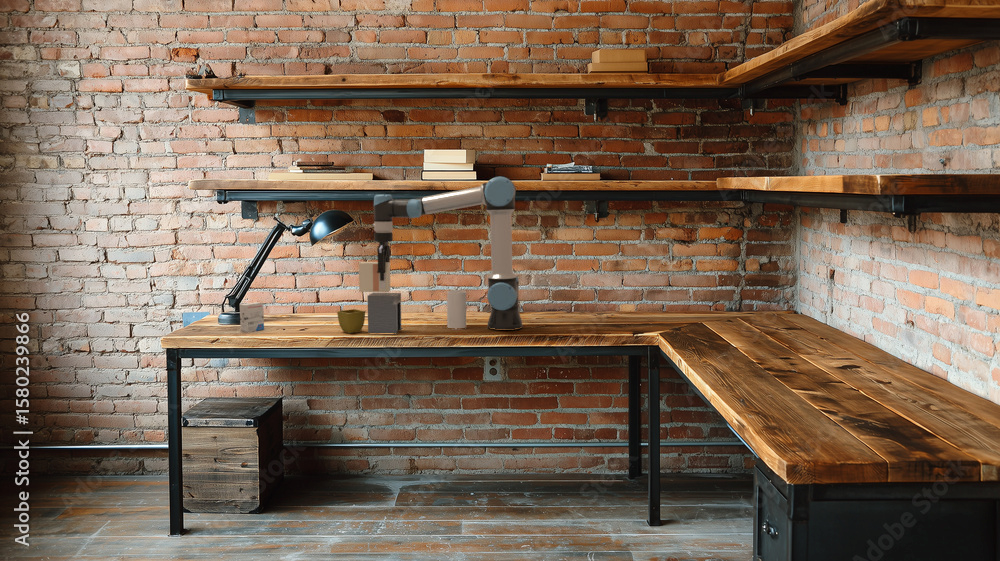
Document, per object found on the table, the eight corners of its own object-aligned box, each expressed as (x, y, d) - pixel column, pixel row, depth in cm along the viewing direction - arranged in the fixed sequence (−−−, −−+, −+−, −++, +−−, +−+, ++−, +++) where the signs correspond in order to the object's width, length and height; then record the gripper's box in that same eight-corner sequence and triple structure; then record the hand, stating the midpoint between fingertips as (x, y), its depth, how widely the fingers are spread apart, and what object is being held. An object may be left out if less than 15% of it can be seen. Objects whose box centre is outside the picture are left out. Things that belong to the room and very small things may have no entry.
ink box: (258, 328, 318) (257, 301, 316) (264, 329, 315) (263, 302, 313) (240, 331, 311) (239, 303, 310) (246, 332, 308) (245, 304, 307)
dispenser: (401, 330, 314) (400, 292, 312) (396, 334, 304) (396, 296, 303) (373, 329, 315) (372, 292, 313) (368, 334, 305) (367, 295, 303)
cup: (449, 329, 315) (449, 292, 313) (445, 326, 323) (445, 290, 321) (468, 328, 317) (468, 292, 315) (463, 325, 325) (463, 289, 323)
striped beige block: (390, 290, 310) (390, 262, 309) (387, 292, 305) (387, 263, 304) (362, 290, 311) (361, 261, 309) (359, 291, 306) (358, 263, 304)
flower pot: (336, 332, 310) (336, 311, 309) (354, 329, 316) (354, 308, 315) (348, 335, 303) (348, 313, 302) (366, 332, 309) (365, 311, 308)
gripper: (379, 230, 314) (380, 284, 317) (369, 232, 296) (370, 290, 299) (396, 230, 314) (397, 285, 316) (387, 233, 296) (388, 290, 298)
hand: (384, 287), depth 308 cm, fingers closed on striped beige block, 5 cm apart
